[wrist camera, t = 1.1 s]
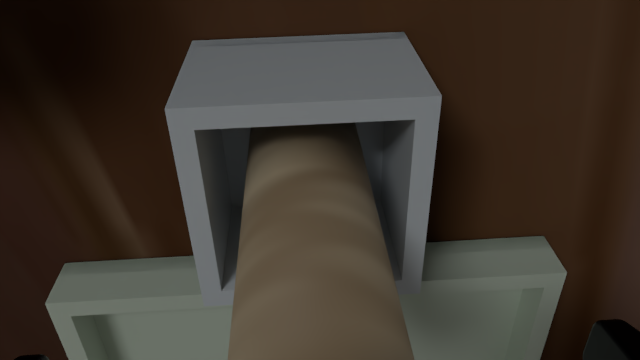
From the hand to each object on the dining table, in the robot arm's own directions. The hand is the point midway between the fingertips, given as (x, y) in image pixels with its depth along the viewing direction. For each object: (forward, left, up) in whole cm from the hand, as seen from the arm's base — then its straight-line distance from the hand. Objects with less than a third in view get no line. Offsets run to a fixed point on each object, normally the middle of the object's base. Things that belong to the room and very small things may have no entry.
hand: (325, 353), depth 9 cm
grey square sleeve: (0, 0, -8) cm, 8 cm away
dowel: (0, 0, -7) cm, 7 cm away
